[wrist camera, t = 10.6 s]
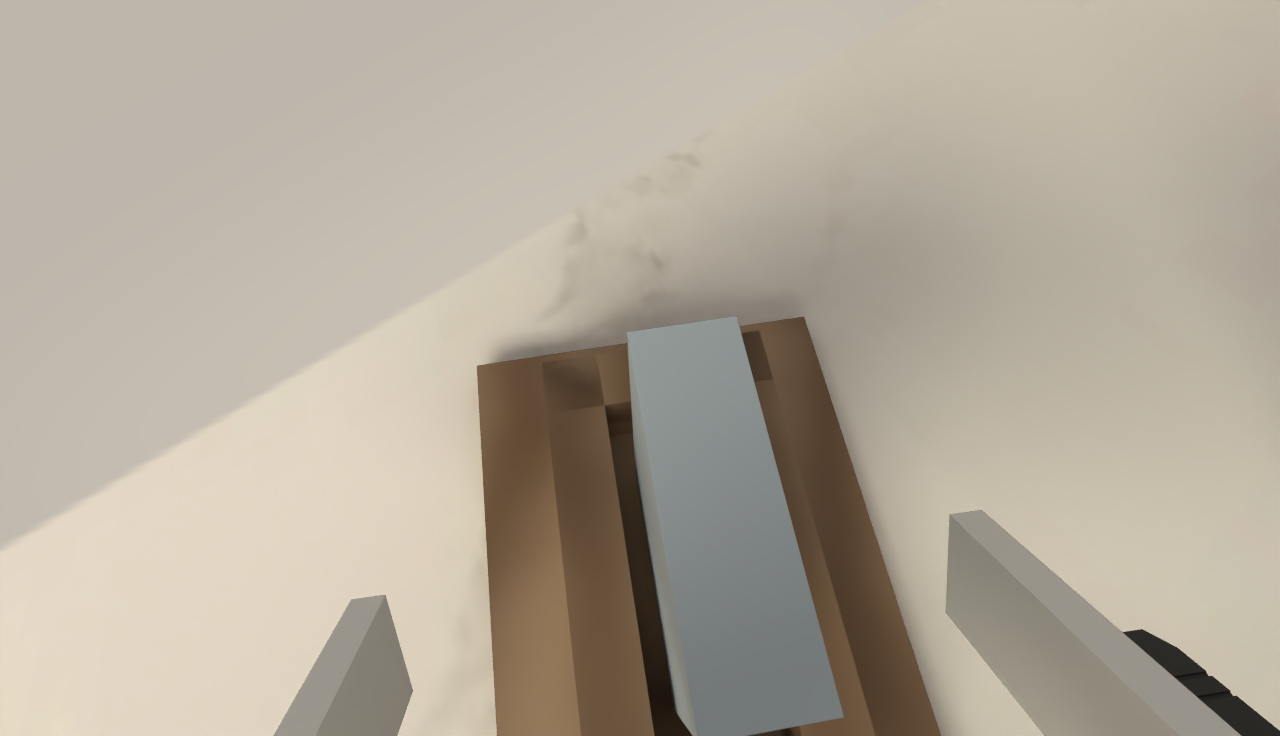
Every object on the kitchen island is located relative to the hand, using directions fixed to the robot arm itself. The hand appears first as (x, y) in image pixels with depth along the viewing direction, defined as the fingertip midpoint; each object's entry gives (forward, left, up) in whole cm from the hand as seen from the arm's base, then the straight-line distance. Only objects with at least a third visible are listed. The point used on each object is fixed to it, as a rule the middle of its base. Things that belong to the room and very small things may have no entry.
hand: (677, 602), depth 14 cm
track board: (-1, -1, -9) cm, 9 cm away
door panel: (-1, -1, -8) cm, 8 cm away
